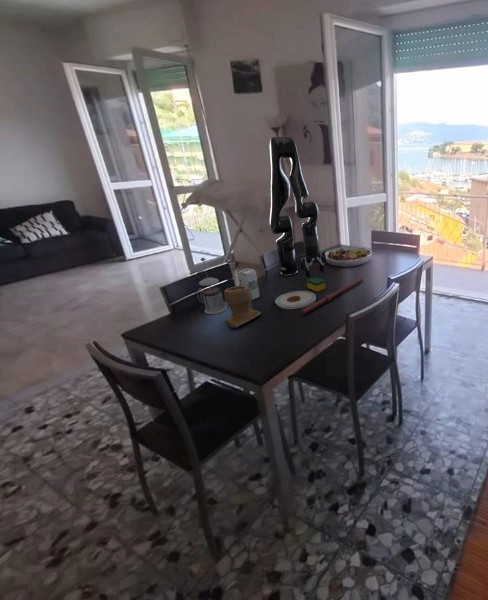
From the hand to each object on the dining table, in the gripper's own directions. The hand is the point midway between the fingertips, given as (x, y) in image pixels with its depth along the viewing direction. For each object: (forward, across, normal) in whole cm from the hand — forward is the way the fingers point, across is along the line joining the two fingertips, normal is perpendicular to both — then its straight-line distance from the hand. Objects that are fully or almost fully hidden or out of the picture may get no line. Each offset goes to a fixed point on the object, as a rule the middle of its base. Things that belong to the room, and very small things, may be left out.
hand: (315, 274), depth 182 cm
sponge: (+8, 0, 0) cm, 8 cm away
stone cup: (+8, +43, +4) cm, 44 cm away
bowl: (+8, -41, -21) cm, 47 cm away
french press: (+8, +46, -16) cm, 49 cm away
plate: (+8, +16, +5) cm, 18 cm away
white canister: (+8, +28, -15) cm, 33 cm away
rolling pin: (+8, +1, +16) cm, 18 cm away
